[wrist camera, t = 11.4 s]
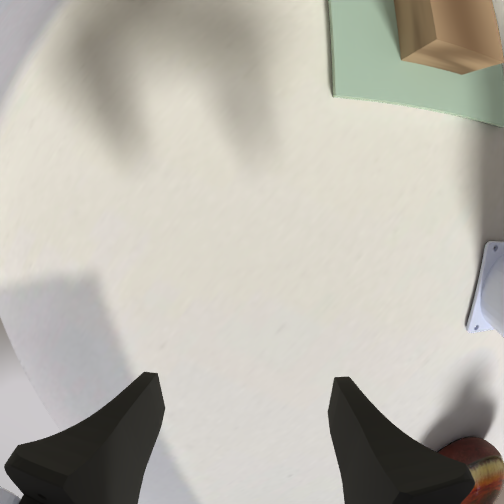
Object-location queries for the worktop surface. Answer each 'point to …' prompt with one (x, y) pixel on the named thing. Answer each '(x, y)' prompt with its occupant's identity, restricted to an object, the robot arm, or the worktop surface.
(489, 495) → the vase
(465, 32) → the walnut block
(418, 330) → the worktop surface
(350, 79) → the sage board
